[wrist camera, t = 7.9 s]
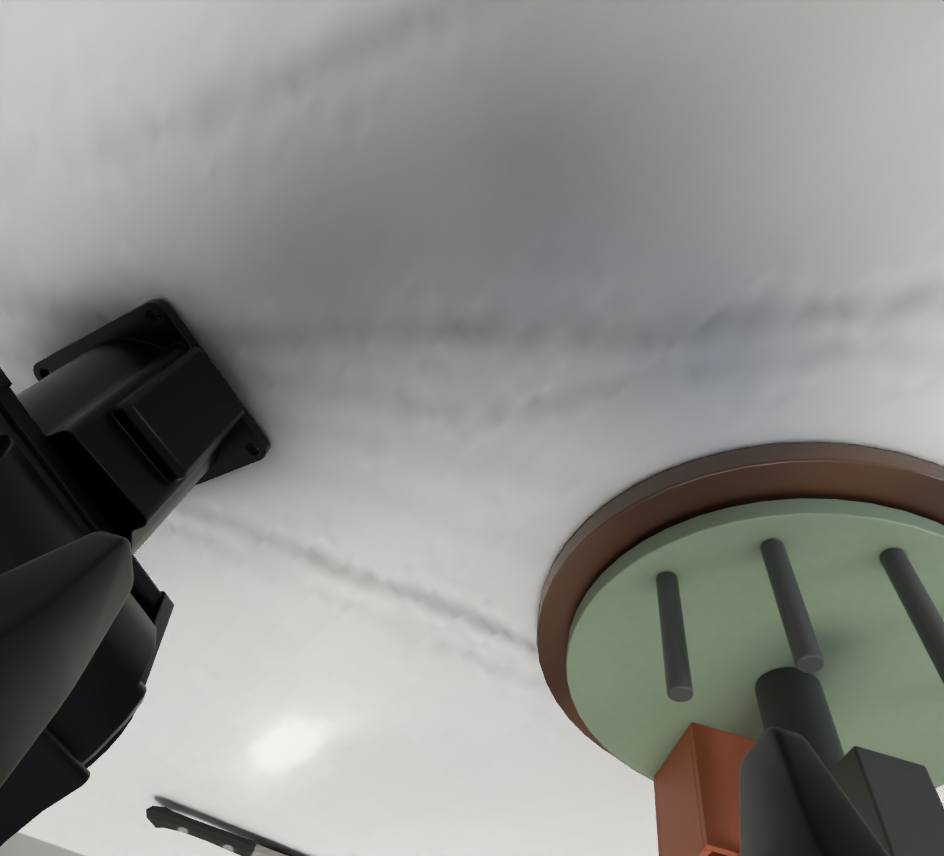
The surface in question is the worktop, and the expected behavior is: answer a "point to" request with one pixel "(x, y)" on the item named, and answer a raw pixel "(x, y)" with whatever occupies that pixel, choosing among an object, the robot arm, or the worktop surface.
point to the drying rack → (773, 663)
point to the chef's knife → (207, 832)
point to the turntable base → (711, 490)
